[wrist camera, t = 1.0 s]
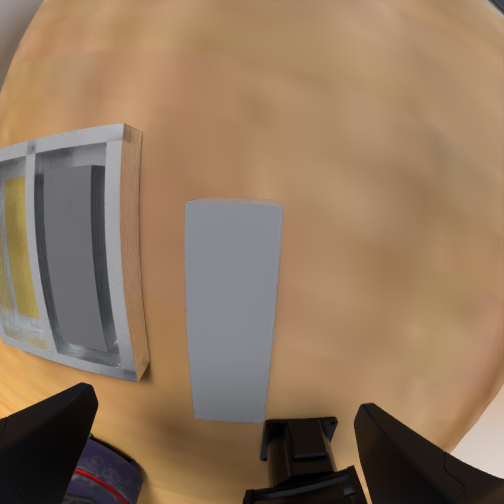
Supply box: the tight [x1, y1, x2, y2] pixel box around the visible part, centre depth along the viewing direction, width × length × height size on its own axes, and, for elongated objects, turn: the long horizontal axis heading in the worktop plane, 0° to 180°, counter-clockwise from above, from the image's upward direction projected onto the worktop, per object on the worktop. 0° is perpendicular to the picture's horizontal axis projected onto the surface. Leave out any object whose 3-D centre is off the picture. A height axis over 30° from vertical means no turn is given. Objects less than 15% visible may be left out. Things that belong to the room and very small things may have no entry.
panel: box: [185, 197, 283, 423], centre depth 15 cm, size 12×4×6 cm, turn 177°
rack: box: [0, 123, 150, 382], centre depth 16 cm, size 16×15×4 cm
